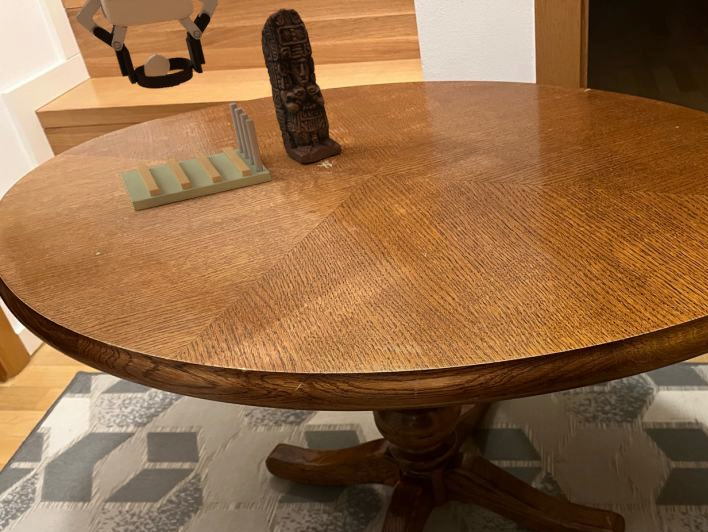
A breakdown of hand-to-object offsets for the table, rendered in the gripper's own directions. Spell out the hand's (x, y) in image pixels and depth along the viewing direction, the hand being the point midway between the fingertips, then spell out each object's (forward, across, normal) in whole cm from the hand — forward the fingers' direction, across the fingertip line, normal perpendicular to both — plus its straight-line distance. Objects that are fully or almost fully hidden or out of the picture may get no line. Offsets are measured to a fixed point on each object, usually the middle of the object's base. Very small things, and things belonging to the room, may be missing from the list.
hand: (165, 75), depth 92 cm
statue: (+15, -18, -2) cm, 23 cm away
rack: (+15, 0, -1) cm, 15 cm away
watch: (+1, 0, 0) cm, 1 cm away
